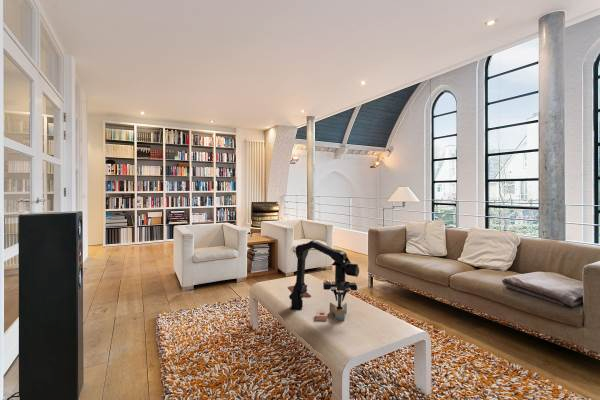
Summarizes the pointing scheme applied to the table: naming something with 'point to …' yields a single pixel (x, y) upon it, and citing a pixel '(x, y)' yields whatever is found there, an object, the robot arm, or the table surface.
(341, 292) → the hinge pin
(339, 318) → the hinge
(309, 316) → the table surface
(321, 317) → the pin holder
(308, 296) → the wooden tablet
